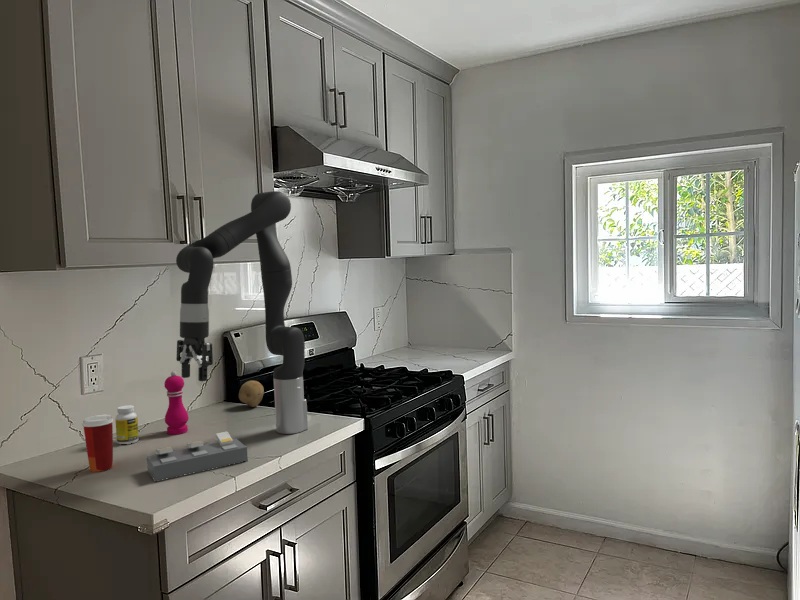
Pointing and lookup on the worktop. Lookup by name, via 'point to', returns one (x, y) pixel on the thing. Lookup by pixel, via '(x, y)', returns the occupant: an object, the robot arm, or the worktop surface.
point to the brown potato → (251, 393)
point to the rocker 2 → (224, 438)
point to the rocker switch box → (195, 459)
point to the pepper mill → (175, 405)
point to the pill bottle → (126, 425)
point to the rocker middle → (195, 444)
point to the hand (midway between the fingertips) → (194, 379)
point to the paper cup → (99, 442)
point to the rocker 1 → (164, 450)
